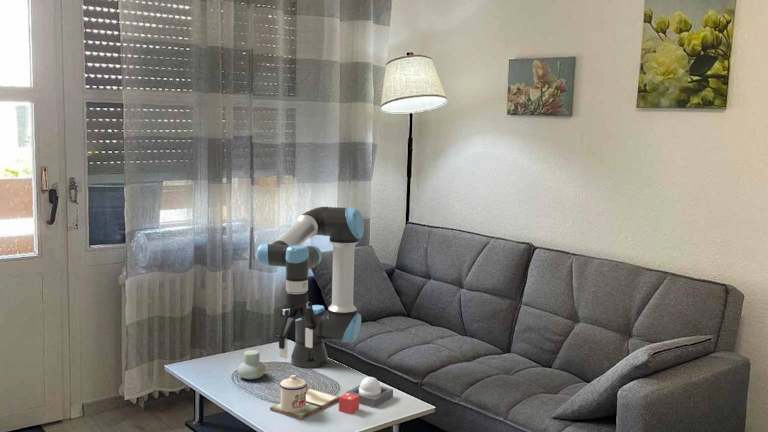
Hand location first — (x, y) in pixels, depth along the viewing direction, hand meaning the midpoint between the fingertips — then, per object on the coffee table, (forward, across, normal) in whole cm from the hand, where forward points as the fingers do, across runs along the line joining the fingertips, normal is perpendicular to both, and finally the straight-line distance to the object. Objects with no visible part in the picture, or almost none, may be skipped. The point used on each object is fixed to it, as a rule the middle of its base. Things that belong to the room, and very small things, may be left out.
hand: (296, 352), depth 253 cm
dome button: (+20, +23, -15) cm, 34 cm away
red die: (+21, +10, -15) cm, 28 cm away
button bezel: (+21, +23, -15) cm, 35 cm away
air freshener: (+21, +14, +34) cm, 42 cm away
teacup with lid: (+20, 0, 0) cm, 20 cm away
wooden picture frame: (+21, +5, 0) cm, 21 cm away
